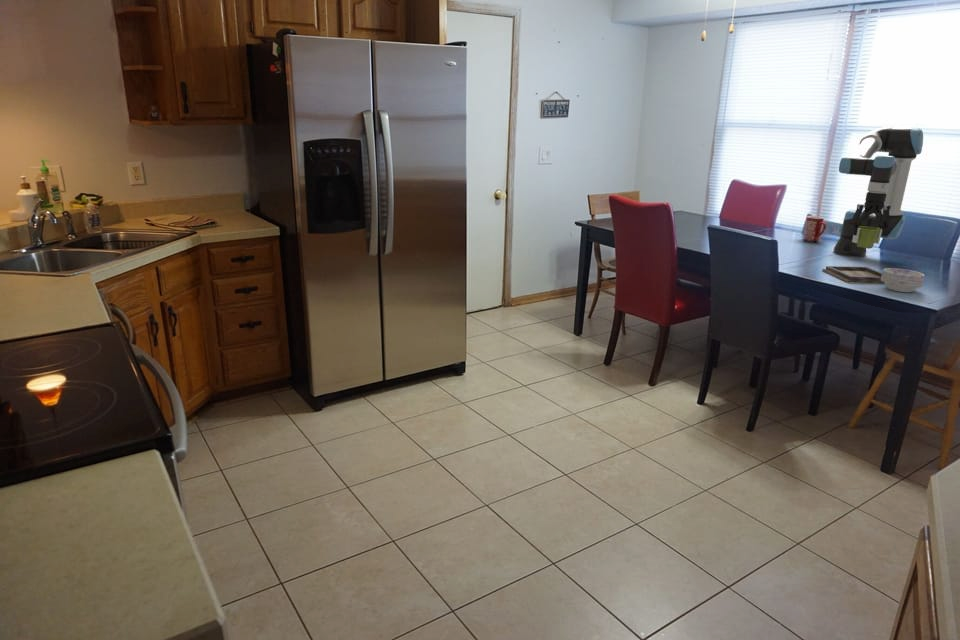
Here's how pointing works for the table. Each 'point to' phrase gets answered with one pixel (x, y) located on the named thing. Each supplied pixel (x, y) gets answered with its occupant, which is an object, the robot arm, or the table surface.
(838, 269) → the wooden tray
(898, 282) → the paper bowls
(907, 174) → the robot arm
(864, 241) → the plant pot
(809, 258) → the table surface
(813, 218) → the mug
